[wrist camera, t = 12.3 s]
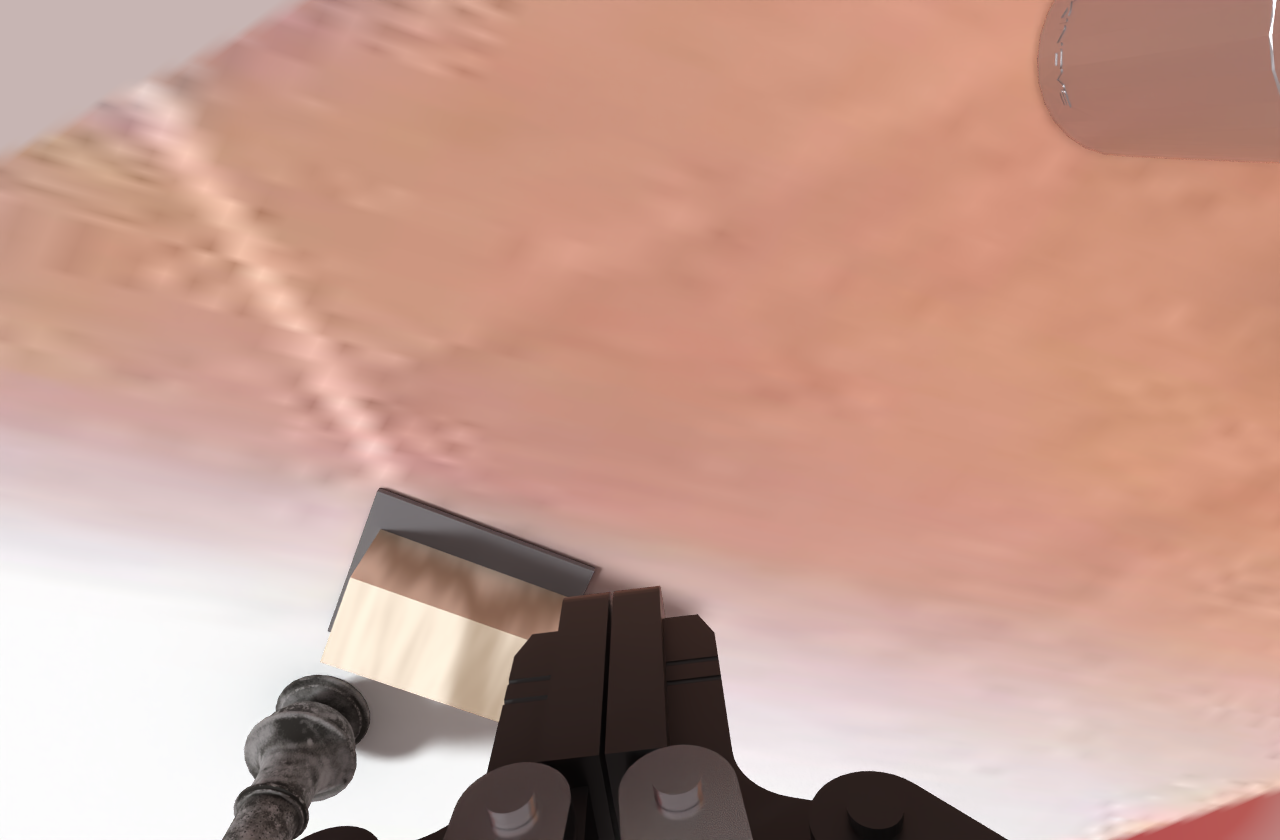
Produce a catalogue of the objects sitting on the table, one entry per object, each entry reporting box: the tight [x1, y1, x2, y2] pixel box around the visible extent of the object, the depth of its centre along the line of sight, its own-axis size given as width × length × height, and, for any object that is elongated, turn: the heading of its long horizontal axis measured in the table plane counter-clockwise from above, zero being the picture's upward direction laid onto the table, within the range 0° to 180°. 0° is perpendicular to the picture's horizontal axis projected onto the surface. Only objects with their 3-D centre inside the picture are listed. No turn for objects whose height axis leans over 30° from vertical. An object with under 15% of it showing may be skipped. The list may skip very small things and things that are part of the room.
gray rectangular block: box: [328, 488, 595, 632], centre depth 45 cm, size 12×9×1 cm
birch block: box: [320, 529, 566, 722], centre depth 43 cm, size 5×5×12 cm
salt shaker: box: [222, 675, 370, 840], centre depth 42 cm, size 6×6×12 cm
